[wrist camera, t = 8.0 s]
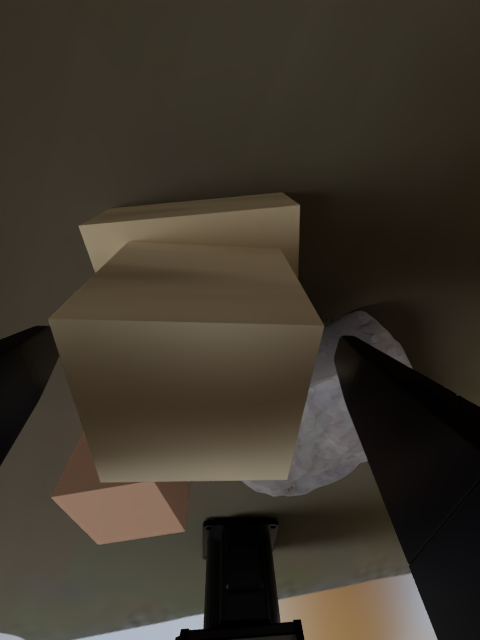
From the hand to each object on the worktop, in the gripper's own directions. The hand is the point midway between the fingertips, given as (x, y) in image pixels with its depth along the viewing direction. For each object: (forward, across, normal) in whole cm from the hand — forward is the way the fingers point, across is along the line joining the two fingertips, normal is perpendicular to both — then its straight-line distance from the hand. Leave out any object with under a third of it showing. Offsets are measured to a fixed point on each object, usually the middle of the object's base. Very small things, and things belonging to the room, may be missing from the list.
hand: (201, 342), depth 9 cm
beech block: (+2, 0, 0) cm, 2 cm away
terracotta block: (+5, +4, +11) cm, 13 cm away
